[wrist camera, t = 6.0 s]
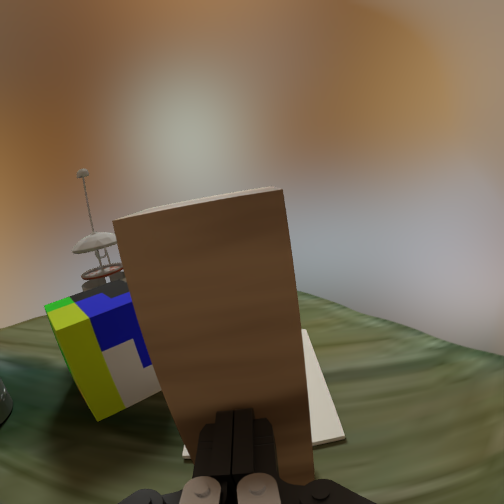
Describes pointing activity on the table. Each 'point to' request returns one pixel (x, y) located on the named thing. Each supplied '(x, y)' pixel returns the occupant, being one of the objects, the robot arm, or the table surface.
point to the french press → (97, 252)
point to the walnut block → (222, 315)
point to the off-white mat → (316, 401)
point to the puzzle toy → (104, 348)
